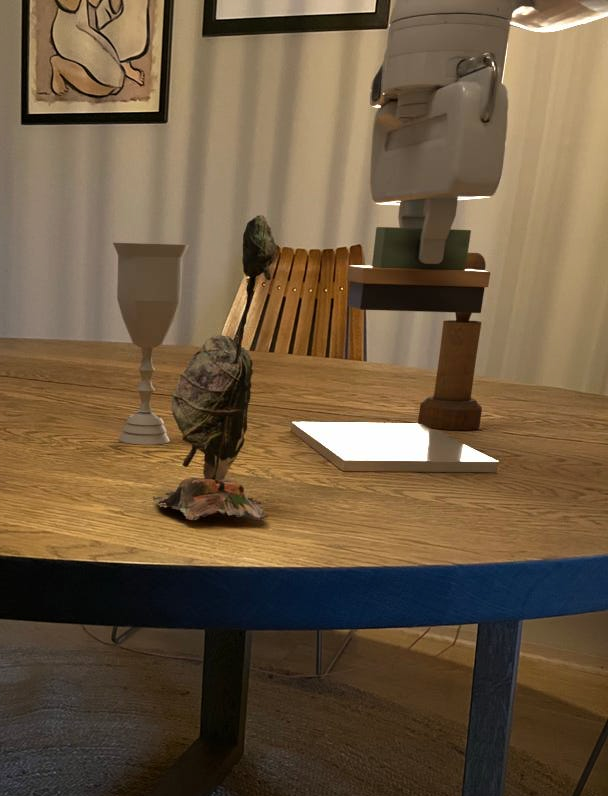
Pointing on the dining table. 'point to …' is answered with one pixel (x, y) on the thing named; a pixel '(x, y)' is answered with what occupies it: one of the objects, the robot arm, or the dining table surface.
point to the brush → (417, 276)
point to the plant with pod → (220, 403)
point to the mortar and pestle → (456, 372)
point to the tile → (391, 448)
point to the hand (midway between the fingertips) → (419, 263)
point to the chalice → (148, 320)
